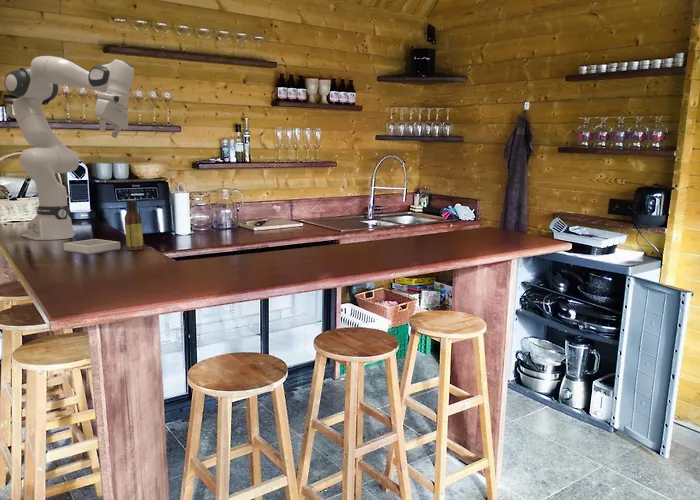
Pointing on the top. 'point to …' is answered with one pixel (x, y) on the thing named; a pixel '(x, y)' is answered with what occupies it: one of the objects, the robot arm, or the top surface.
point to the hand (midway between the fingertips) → (108, 134)
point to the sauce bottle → (133, 226)
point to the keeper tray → (91, 246)
